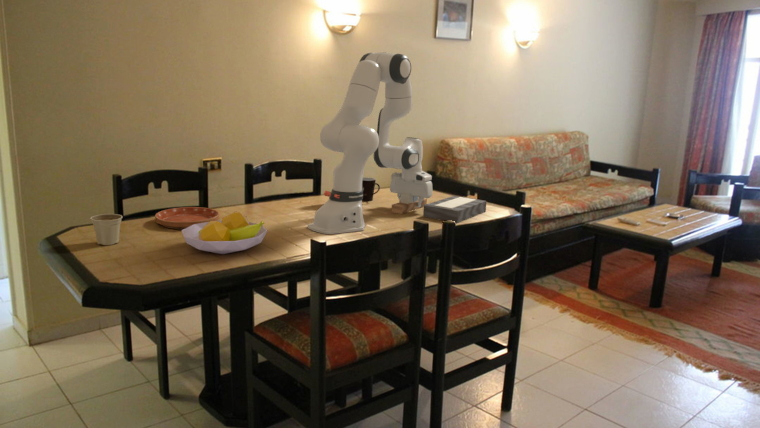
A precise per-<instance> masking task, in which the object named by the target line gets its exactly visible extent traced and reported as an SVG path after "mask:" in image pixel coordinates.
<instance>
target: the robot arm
mask: <svg viewBox="0 0 760 428" xmlns="http://www.w3.org/2000/svg"><path fill="white" fill-rule="evenodd" d="M411 72H412V64H411V60H410V59H409V57H408V56H407V55H405V54H401V53H392V52H391V53H390V52H387V51H386V52H385V51H384V52H368V53H365V54H363V55H362V57H361V58H360V60H359V62H358V63H357V64H356V67H355V69H354V71H353V73H352V76H351V79H350V82H349V83H348V84H349V85H348V87H347V91H346V94H345V97H344V99H343V103H342V105H341V107H340V109H339V111H337V113H336V114H335V116H334V117H333V119H331V121H329V122H328V123H327V124H325V125H324V126H323V127H322V128H321V131H320V134H319V139H320V143H321V144H322V146H323V147H324V148H326V149H328V150H330V151H333V152H338V153H343V157H342V160H341V162H340V163H339V164H337V165H336V166H335V167H334V168H333V177H332V178H333V179H332V180H333V181H332V183H333V184H332V189H331V191H329V190H325V191H323V195H324V197H327V198H328V200H327V201H326V202H325V203H323V204H322V205H321V206H320V207H319V208H318V209H317V210H316V211H315V214H314V218H313V222H311V223H308V224H307V228H308V229H309V230H310V231H314V232H317V233H319V234H324V235H333V234H334V235H335V234H344V233H353V232H360V231H365V227H366V223H365V220H364V213H363V201H362V199H363V190H362V180H363V177H364V170H365V165H366V163H367V161H368V160H369V158H370V157H371V156H372V155H373V160H374V163H375V164H376V165H377V167H378V168H382V169H383V168H387V169H388V168H390V169H396V170H401V172H396V171H394V172H393V173H391V177H390V184H389V185H390V186H389V192H390V193H393V194H397V195H396V196H397V197H398V201H399V202H401V193H409V194H412V196H416V197H418V198H419V202H418V203H416V207H421V202H422V201H423V199H430V198H432V196H433V182H432V180H433V179H432V178H433V175H431V174H430V173H428V172H426V171H425V170H423V166H422V161H423V157H424V147H423V140H422V139H420V138H417V137H411V136H409V137H408V136H407V137H405V138H404V140H403V144H401V145H399V146H398V145H392V144H390V142H389V141H390V140H389V139H390V130H391V125H392V123H393V122H394V121H397V120H399V119H401V118H404V117H406V116H407V115H408V114H410V112H411V110H412V108H413V104H414V103H413V102H414V101H413V88H412V81H411ZM381 82H382V83H385V87H384V89H385V91H384V92H385V93H384V97H385V100H384V105H383V107H382V108H381V109H380V111H379V112H378V113H379V114H378V119H377V128H376V130H375V129H374V128H371V127H370V126H367V125H362V124H360V123H361V122H362V121H364V119H366V118H367V117H369V116H370V115H371V114H372V112H373V110H374V107H375V104H376V100H377V96H378V91H379V90H380V89H379V88H380V84H381ZM399 202H398V203H399Z"/></svg>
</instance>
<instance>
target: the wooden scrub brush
mask: <svg viewBox="0 0 760 428" xmlns="http://www.w3.org/2000/svg"><path fill="white" fill-rule="evenodd" d="M427 201H428V198H424V199H423V201H422V202H421V207H416V203H418V202H419V197H418V201H416V202H412V203H410V204H406V203H400V202H397V203H396V202H395V203H393V204H391V210H390V211H391V213H392V214H397V213H398V214H399V215H403V213H404V214H406V212H407V213H410V212H412V210H413V211H415V209H416V210H419V209H423V208H424V205H426V204H428V203H427ZM409 211H410V212H409ZM398 214H397V215H398Z"/></svg>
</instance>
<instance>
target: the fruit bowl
mask: <svg viewBox="0 0 760 428" xmlns="http://www.w3.org/2000/svg"><path fill="white" fill-rule="evenodd" d="M264 224H265V222H264V221H263V220H261V221H260V222H259V223H257V222H250V221H249V220H248V217H247V216H246V215H245V214H243V213H242V212H240V211H238V210H236V211H234V212H232V213H230V214H227V216H224V217H223V218H222V219H221V220H217V221H210V222H206V223H199V224H194V225H192V226H190V227H188V228H186V229H180V230H181V232H182V235H183V238H184V241H185V243H186V245H190V246H191V247H193V248H195V249H197V250H199V251H204V252H211V253H214V254H220V255H225V254H230V253H231V254H232V253H236V252H240V251H241V252H242V251H247V250H248V249H250V248H252V247H255V246H257V245H259V244H261V243H262V242H263V240H264V238H265V236H266V234H267V233H268V230H267V228H266V227H264V226H263V225H264Z"/></svg>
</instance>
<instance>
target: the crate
mask: <svg viewBox="0 0 760 428" xmlns="http://www.w3.org/2000/svg"><path fill="white" fill-rule="evenodd" d="M412 202H413V196H412V194H409V193H401V202H400V203H406V204H410V203H412Z"/></svg>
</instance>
